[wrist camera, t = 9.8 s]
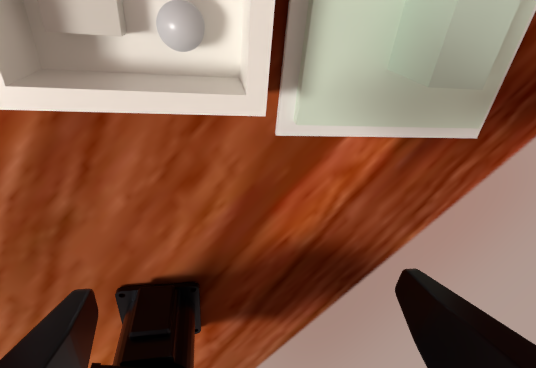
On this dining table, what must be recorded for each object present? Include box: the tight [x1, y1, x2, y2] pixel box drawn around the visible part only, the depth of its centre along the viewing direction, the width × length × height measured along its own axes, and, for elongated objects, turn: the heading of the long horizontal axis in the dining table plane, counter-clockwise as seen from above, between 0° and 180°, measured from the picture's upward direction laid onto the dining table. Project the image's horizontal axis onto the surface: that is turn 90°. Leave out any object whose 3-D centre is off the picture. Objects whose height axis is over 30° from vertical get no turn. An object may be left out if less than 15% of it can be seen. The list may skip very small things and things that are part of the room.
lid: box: [293, 0, 536, 129], centre depth 15 cm, size 13×13×5 cm
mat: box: [275, 0, 536, 138], centre depth 18 cm, size 15×15×1 cm
